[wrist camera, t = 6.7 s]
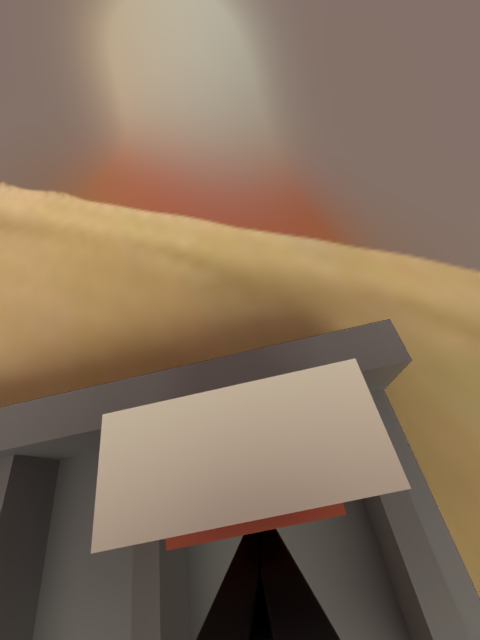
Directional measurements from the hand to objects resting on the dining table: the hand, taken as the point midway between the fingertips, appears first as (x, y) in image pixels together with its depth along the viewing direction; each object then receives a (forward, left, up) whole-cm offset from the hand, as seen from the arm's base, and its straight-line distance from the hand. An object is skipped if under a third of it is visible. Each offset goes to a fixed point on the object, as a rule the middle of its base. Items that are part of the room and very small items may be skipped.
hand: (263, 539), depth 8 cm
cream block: (+1, +1, -6) cm, 6 cm away
